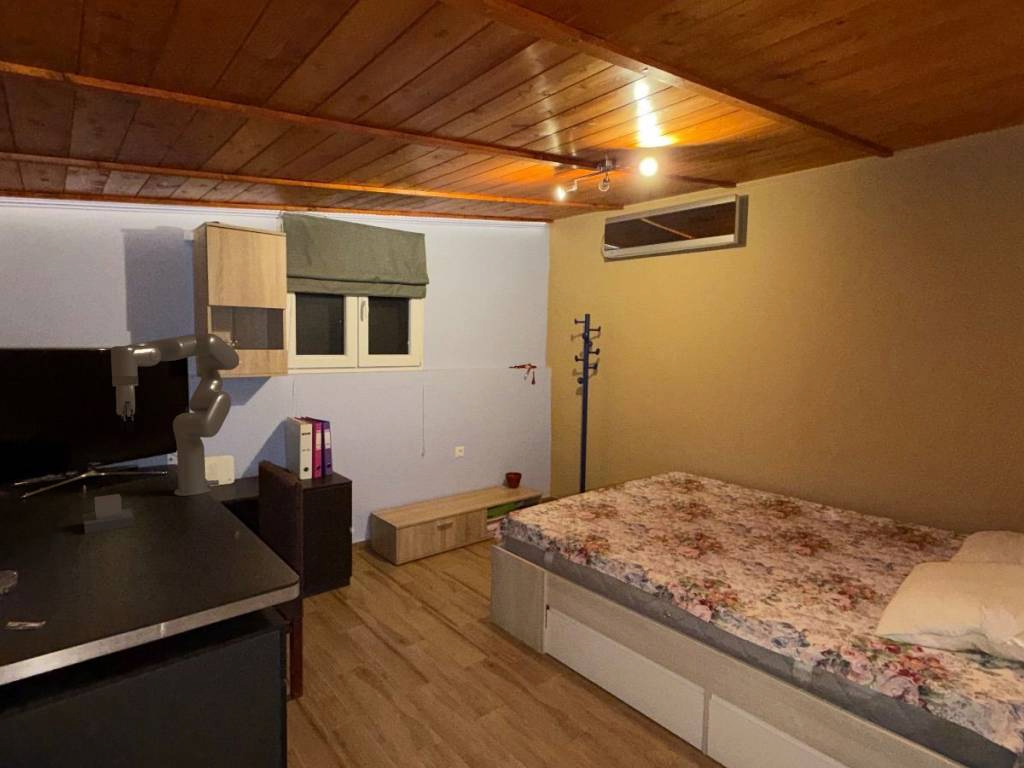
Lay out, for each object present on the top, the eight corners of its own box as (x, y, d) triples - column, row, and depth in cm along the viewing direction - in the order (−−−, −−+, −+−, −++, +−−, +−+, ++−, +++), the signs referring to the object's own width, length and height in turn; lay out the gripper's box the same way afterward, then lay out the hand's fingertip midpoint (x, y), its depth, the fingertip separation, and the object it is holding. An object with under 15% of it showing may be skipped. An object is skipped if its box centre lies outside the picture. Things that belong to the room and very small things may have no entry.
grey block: (130, 517, 205) (129, 496, 205) (134, 526, 195) (133, 504, 194) (83, 524, 197) (82, 502, 197) (85, 533, 187) (83, 511, 186)
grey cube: (120, 511, 201) (119, 493, 200) (122, 516, 195) (121, 497, 195) (95, 515, 197) (94, 497, 196) (96, 520, 191) (95, 501, 191)
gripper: (110, 381, 215) (113, 429, 216) (114, 383, 201) (116, 434, 202) (135, 380, 219) (137, 427, 220) (140, 382, 205) (143, 432, 206)
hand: (127, 430), depth 211 cm, fingers open, 9 cm apart
